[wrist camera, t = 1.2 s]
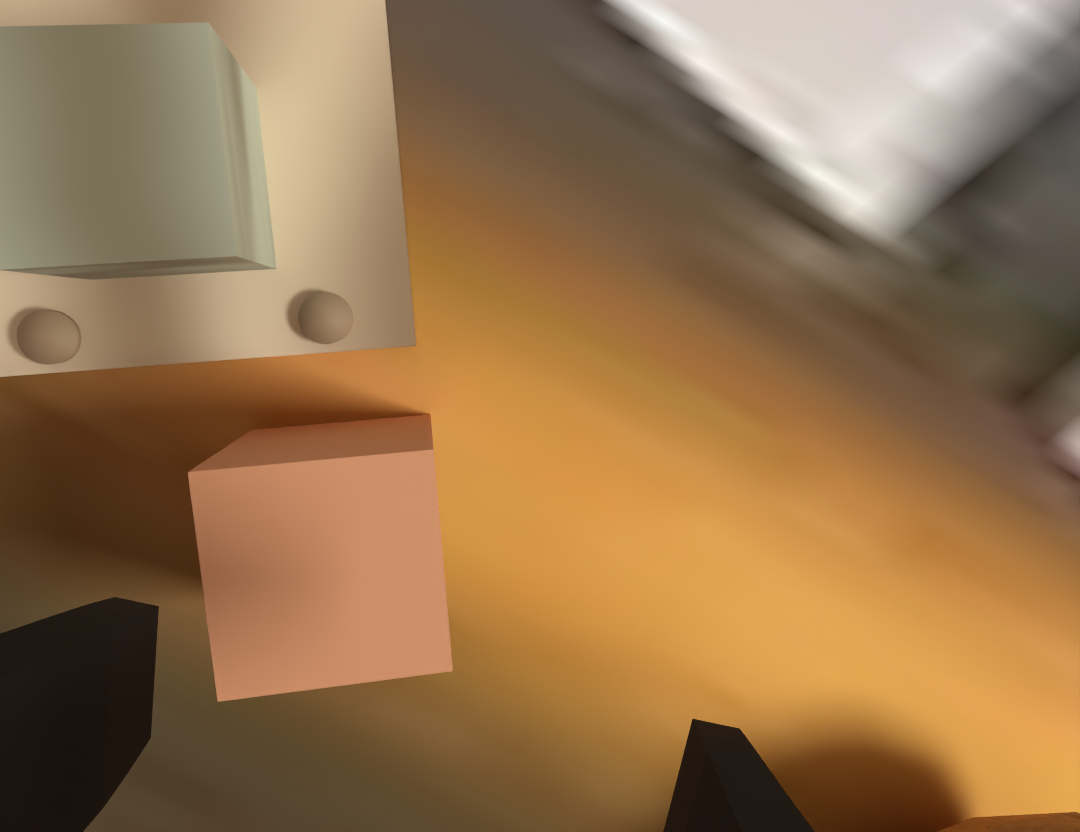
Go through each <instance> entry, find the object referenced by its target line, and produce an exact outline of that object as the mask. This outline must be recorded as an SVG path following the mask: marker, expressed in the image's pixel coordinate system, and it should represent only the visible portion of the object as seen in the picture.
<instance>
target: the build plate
mask: <svg viewBox="0 0 1080 832" xmlns="http://www.w3.org/2000/svg"><path fill="white" fill-rule="evenodd" d="M407 346H416V338H415V327H414V316H413V304H412V293H411V282H410V271H409V260H408V249H407V238H406V227H405V216H404V204H403V193H402V182H401V171H400V160H399V149H398V138H397V127H396V116H395V104H394V93H393V82H392V71H391V60H390V49H389V38H388V27H387V16H386V4H385V0H0V377H5V376H19V375H32V374H46V373H59V372H72V371H86V370H99V369H113V368H126V367H139V366H153V365H166V364H180V363H193V362H206V361H220V360H233V359H247V358H260V357H273V356H287V355H300V354H314V353H327V352H340V351H354V350H367V349H381V348H394V347H407Z"/></svg>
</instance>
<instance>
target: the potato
mask: <svg viewBox="0 0 1080 832" xmlns="http://www.w3.org/2000/svg"><path fill="white" fill-rule="evenodd" d="M937 832H1080V814H1079V813H1077V812H1069V813H1050V814H1032V815H1013V816H994V817H975V818H971V819H968V820H966V821H963V822H960V823H958V824H955V825H953V826H950V827H948V828H945V829H943V830H940V831H937Z"/></svg>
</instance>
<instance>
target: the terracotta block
mask: <svg viewBox="0 0 1080 832" xmlns="http://www.w3.org/2000/svg"><path fill="white" fill-rule="evenodd" d="M188 478H189V486H190V494H191V501H192V509H193V517H194V524H195V532H196V539H197V547H198V555H199V562H200V570H201V577H202V585H203V593H204V600H205V608H206V616H207V623H208V631H209V638H210V646H211V654H212V661H213V669H214V676H215V684H216V692H217V699H218V702H219V701H227V700H234V699H242V698H250V697H257V696H265V695H273V694H280V693H288V692H296V691H303V690H311V689H319V688H327V687H334V686H342V685H350V684H357V683H365V682H373V681H380V680H388V679H396V678H403V677H411V676H419V675H426V674H434V673H442V672H449V671H453V668H452V657H451V645H450V633H449V621H448V609H447V598H446V586H445V574H444V563H443V552H442V540H441V529H440V518H439V506H438V495H437V483H436V472H435V461H434V449H433V438H432V427H431V415H430V414H427V415H416V416H404V417H392V418H381V419H369V420H358V421H346V422H334V423H323V424H311V425H299V426H288V427H276V428H265V429H253V430H251V431H249V432H248V433H246V434H245V435H243V436H241V437H240V438H238V439H237V440H235V441H234V442H232V443H231V444H229V445H228V446H226V447H225V448H223V449H222V450H220V451H219V452H217V453H216V454H214V455H213V456H211V457H210V458H208V459H207V460H205V461H204V462H202V463H201V464H199V465H198V466H196V467H195V468H193V469H192V470H190V471H189V472H188Z"/></svg>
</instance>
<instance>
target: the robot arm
mask: <svg viewBox="0 0 1080 832" xmlns="http://www.w3.org/2000/svg"><path fill="white" fill-rule="evenodd" d="M158 609H159V606H154V605H150V604H145V603H140V602H135V601H131V600H126V599H121V598H116V597H114V598H110V599H106V600H102V601H98V602H95V603H91V604H88V605H85V606H81V607H78V608H75V609H72V610H69V611H66V612H63V613H60V614H57V615H54V616H51V617H48V618H45V619H42V620H39V621H36V622H33V623H30V624H27V625H25V626H22V627H19V628H16V629H13V630H10V631H7V632H4V633H1V634H0V832H83V831H84V830H85V829H86V827H87V826H88V825H89V824H90V823H91V822H92V820H93V819H94V818H95V817H96V816H97V814H98V813H99V812H100V811H101V810H102V809H103V807H104V806H105V805H106V803H107V802H108V800H109V799H110V797H111V796H112V795H113V793H114V792H115V790H116V789H117V787H118V786H119V785H120V783H121V782H122V780H123V779H124V778H125V776H126V775H127V773H128V772H129V770H130V769H131V767H132V766H133V764H134V762H135V761H136V759H137V758H138V756H139V755H140V753H141V752H142V750H143V749H144V747H145V746H146V744H147V743H148V741H149V740H150V738H151V724H152V707H153V691H154V674H155V658H156V642H157V625H158ZM664 832H815V831H814V830H813V829H812V827H811V826H810V825H809V823H808V822H807V821H806V819H805V818H804V817H803V815H802V814H801V813H800V811H799V810H798V809H797V807H796V806H795V805H794V803H793V802H792V800H791V799H790V798H789V796H788V795H787V794H786V792H785V791H784V789H783V788H782V787H781V785H780V784H779V782H778V781H777V780H776V778H775V777H774V775H773V774H772V773H771V771H770V770H769V768H768V767H767V766H766V764H765V763H764V761H763V760H762V759H761V757H760V756H759V754H758V753H757V752H756V750H755V749H754V747H753V746H752V745H751V743H750V742H749V740H748V739H747V738H746V736H745V735H744V734H743V732H742V731H741V730H740V729H739V728H734V727H729V726H724V725H720V724H715V723H710V722H705V721H701V720H696V719H692V723H691V727H690V731H689V735H688V739H687V743H686V747H685V751H684V754H683V758H682V762H681V766H680V770H679V774H678V778H677V782H676V786H675V789H674V793H673V797H672V801H671V805H670V809H669V813H668V817H667V821H666V824H665V828H664Z"/></svg>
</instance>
